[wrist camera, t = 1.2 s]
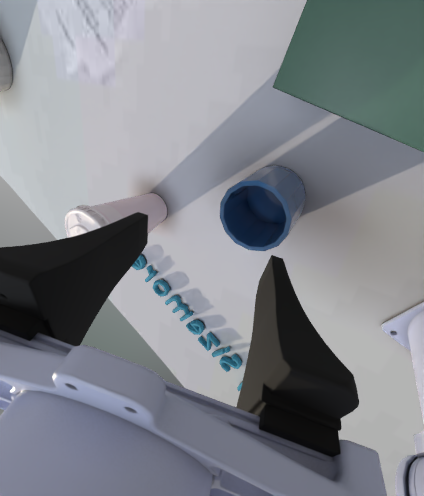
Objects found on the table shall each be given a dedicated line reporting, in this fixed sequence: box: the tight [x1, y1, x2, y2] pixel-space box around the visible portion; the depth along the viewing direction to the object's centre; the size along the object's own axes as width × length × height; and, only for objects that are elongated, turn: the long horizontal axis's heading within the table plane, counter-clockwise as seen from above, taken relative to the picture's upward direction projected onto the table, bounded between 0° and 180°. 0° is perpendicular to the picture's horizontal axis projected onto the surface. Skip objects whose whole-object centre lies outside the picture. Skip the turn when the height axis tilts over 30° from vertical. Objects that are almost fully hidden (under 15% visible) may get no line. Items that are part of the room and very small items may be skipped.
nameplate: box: [132, 255, 242, 391], centre depth 37 cm, size 37×1×5 cm
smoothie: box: [65, 193, 167, 238], centre depth 25 cm, size 6×6×14 cm
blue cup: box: [220, 166, 306, 251], centre depth 20 cm, size 6×6×6 cm
